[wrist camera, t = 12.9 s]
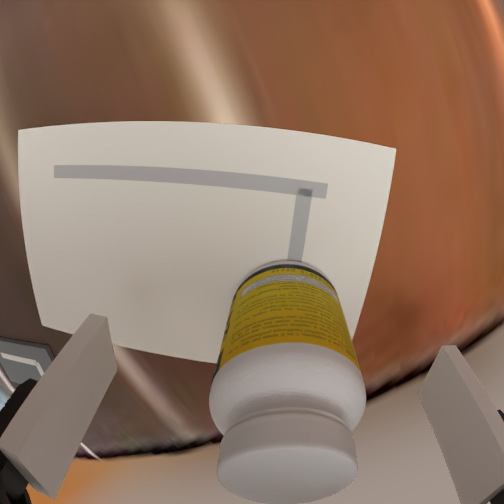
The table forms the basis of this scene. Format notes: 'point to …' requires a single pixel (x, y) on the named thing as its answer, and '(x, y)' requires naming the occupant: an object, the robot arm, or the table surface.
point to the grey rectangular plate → (24, 359)
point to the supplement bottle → (286, 388)
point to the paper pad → (191, 222)
